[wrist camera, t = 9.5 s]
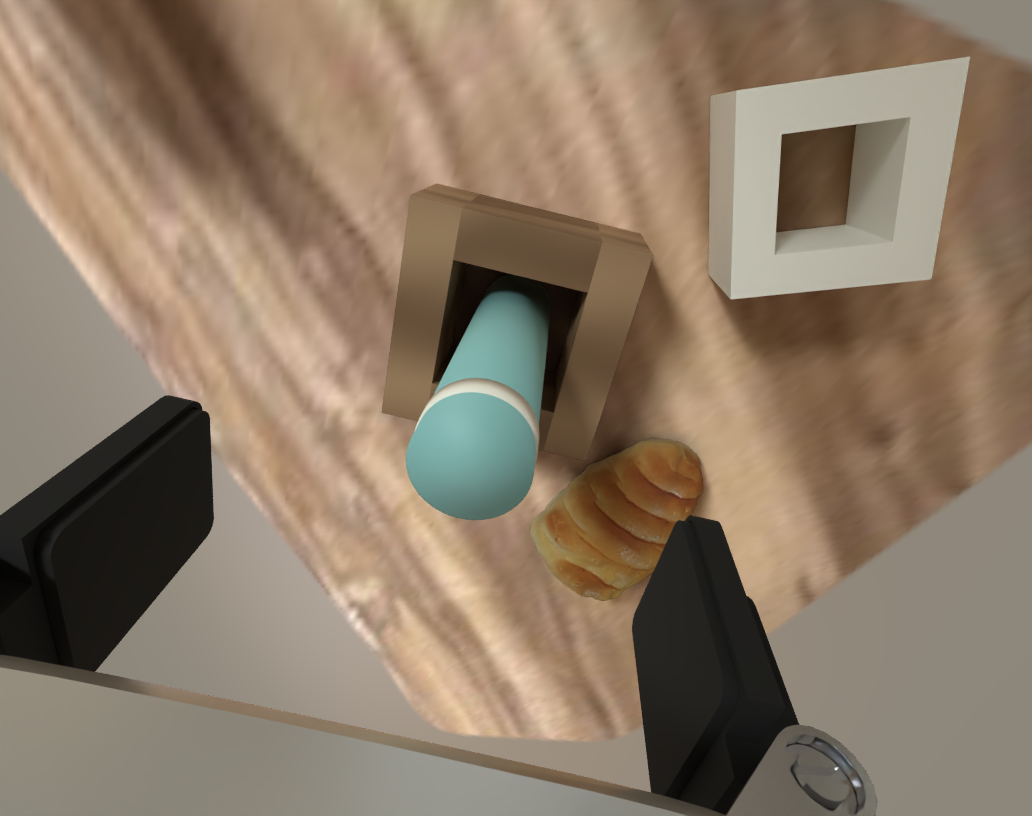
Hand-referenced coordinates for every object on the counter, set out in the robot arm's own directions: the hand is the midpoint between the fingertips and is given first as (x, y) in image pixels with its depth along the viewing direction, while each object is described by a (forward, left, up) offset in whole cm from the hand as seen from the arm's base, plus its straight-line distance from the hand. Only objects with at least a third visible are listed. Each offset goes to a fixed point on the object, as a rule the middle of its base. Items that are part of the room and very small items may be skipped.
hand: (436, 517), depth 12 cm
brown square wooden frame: (+1, 0, -17) cm, 17 cm away
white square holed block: (-7, +10, -17) cm, 21 cm away
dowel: (+1, 0, -17) cm, 17 cm away
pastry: (+10, +8, -17) cm, 22 cm away
